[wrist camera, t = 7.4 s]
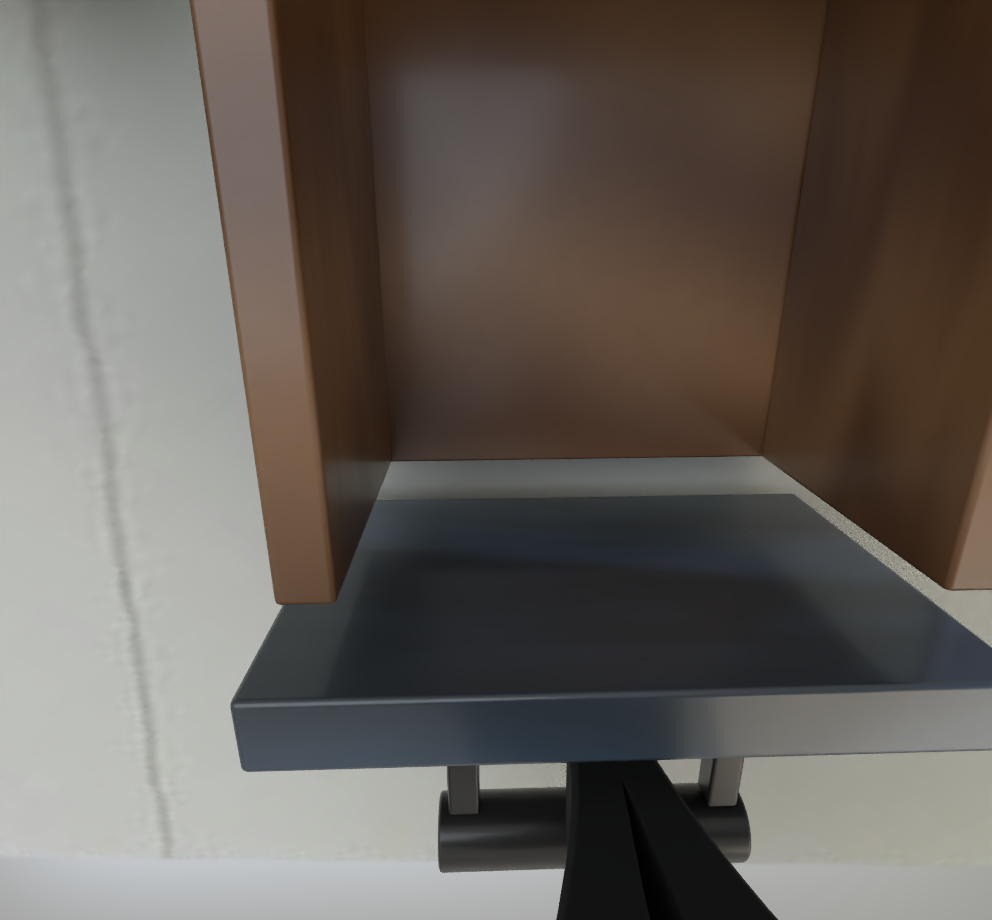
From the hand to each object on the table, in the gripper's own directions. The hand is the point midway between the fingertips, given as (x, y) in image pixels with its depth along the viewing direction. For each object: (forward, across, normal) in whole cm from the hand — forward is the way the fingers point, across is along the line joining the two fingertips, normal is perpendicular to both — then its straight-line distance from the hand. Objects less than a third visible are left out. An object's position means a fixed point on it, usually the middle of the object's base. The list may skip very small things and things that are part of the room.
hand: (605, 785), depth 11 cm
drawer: (+5, 0, -7) cm, 8 cm away
